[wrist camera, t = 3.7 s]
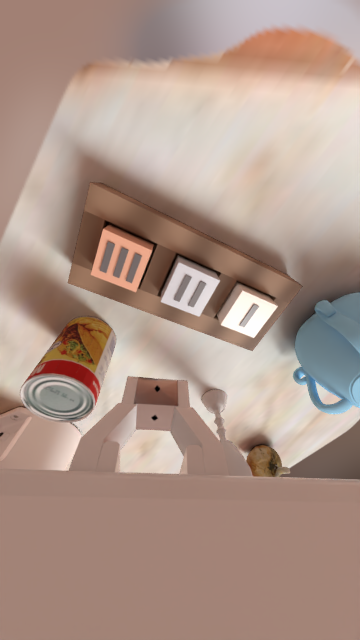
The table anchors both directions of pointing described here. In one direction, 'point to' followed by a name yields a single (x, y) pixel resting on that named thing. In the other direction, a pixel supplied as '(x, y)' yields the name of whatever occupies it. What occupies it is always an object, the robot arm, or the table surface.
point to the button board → (168, 244)
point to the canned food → (71, 372)
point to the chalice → (234, 458)
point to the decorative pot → (331, 352)
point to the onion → (265, 462)
